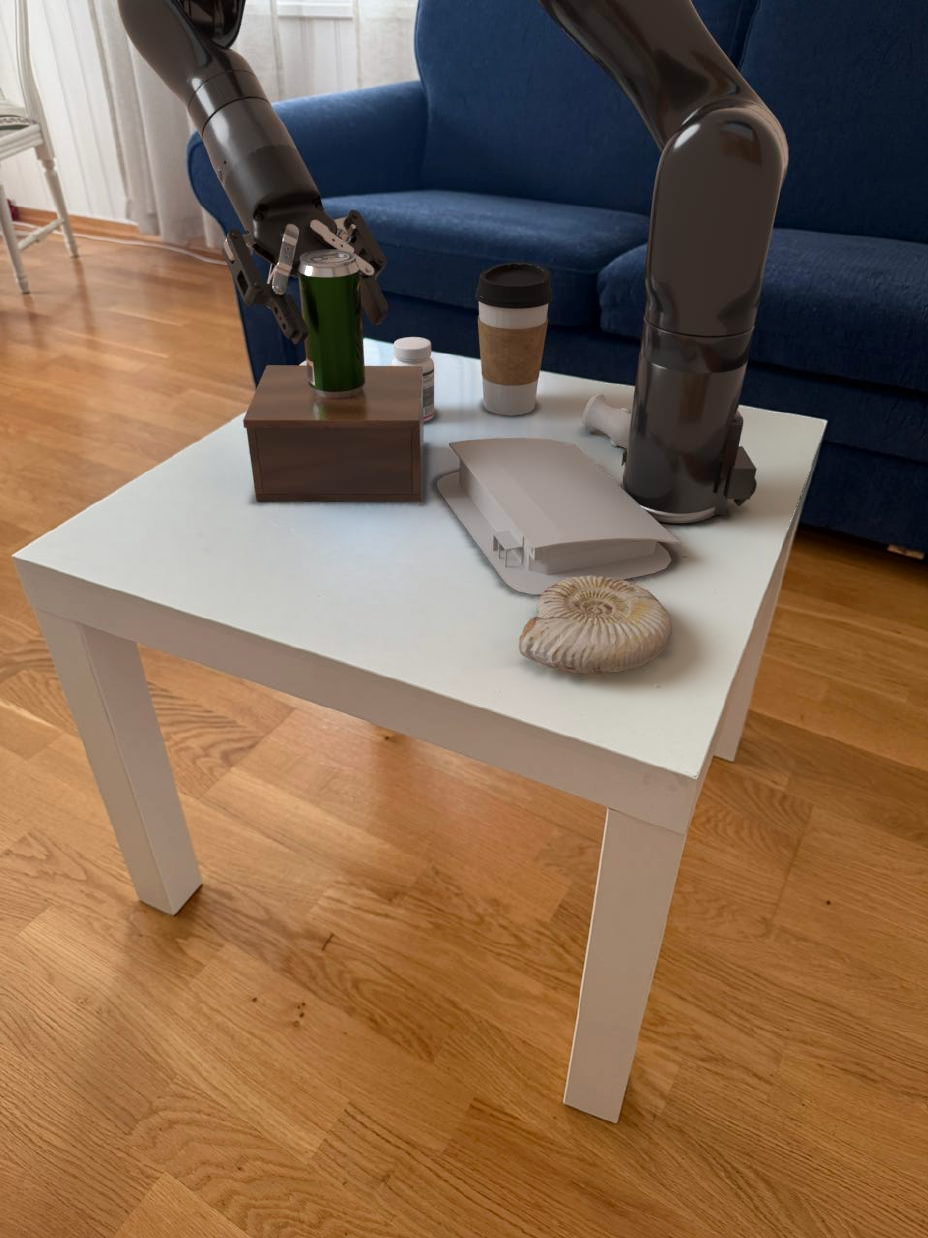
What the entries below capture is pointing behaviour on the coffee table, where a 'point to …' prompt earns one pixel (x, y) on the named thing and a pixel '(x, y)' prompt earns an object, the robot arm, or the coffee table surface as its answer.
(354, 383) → the beer can
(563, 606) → the fossil
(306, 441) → the chest
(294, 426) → the lid
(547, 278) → the coffee cup
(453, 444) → the white stadium model
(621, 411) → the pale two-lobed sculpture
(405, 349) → the pill bottle
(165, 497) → the coffee table surface
